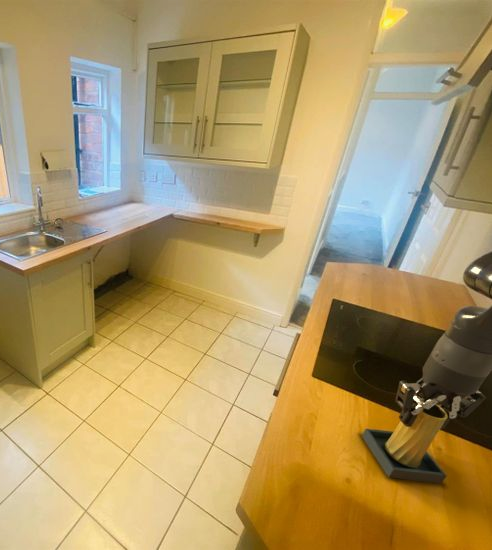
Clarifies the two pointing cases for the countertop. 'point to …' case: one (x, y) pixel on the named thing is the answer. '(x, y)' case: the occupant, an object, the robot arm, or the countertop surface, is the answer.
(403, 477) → the tray
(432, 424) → the vase
